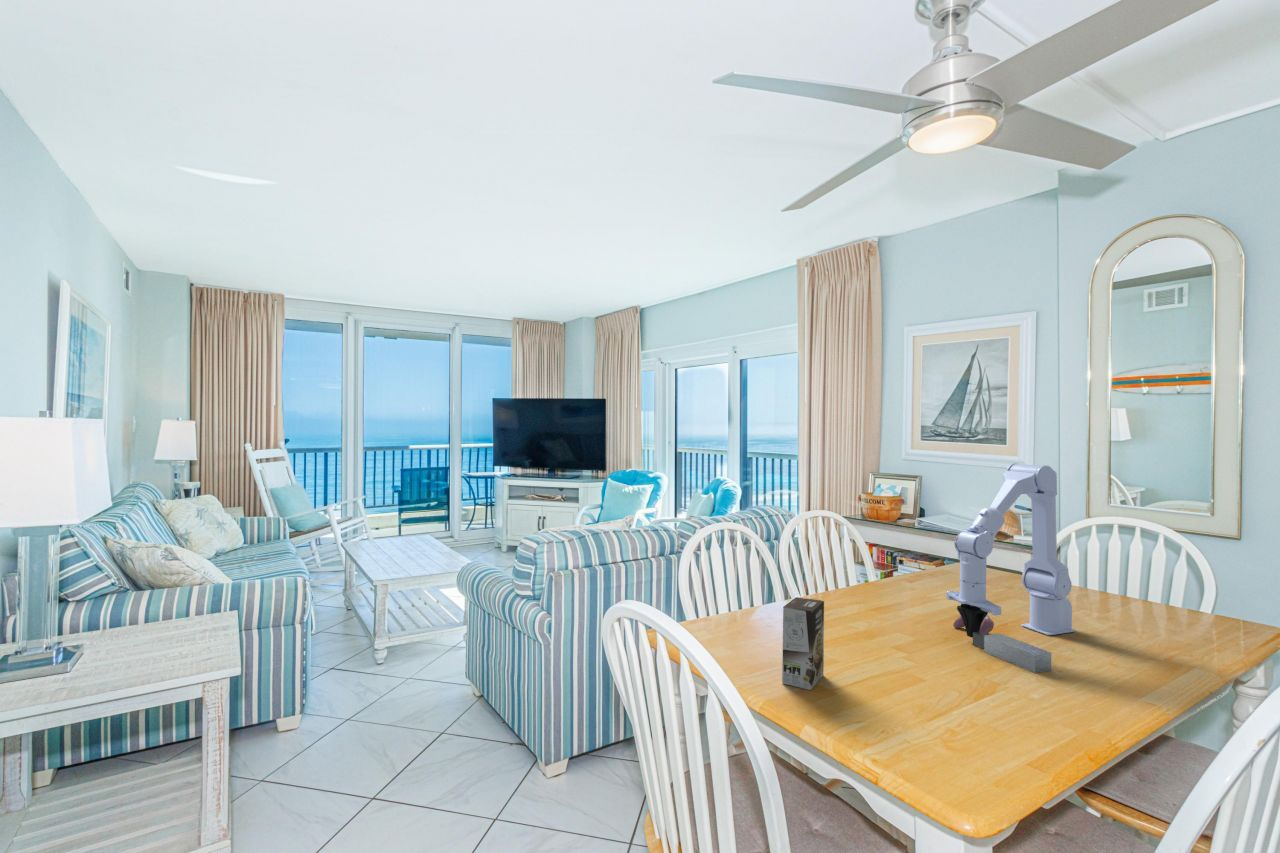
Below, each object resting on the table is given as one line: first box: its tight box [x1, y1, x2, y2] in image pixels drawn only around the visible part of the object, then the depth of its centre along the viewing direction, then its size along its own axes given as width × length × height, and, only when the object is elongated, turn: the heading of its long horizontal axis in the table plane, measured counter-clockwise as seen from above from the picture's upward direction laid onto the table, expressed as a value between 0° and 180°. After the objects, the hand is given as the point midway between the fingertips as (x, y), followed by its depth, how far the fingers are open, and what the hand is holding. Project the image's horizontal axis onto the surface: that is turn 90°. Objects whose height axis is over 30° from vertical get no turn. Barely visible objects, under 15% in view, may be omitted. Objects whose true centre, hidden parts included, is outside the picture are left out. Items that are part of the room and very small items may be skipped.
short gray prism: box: [972, 631, 988, 650], centre depth 147 cm, size 2×12×3 cm, turn 19°
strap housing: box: [983, 632, 1052, 674], centre depth 142 cm, size 5×13×4 cm, turn 19°
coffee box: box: [781, 597, 825, 691], centre depth 131 cm, size 9×6×16 cm
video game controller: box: [952, 614, 995, 639], centre depth 160 cm, size 10×5×7 cm, turn 3°
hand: (972, 636), depth 153 cm, fingers closed
